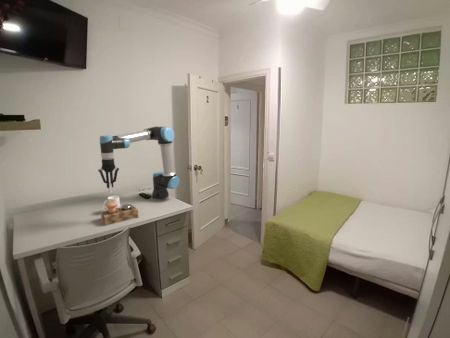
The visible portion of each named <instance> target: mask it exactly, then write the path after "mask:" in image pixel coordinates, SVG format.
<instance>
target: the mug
mask: <svg viewBox="0 0 450 338" xmlns="http://www.w3.org/2000/svg"><path fill="white" fill-rule="evenodd" d="M109 202H116V205H117V206H116V207H115V208H120V207H121V203H120V196H119V195H110V196H108V197H107V200H104V202H103V203H102V206H103V208H104V210H108V208H107V207H105V205H106V203H109Z"/></svg>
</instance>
